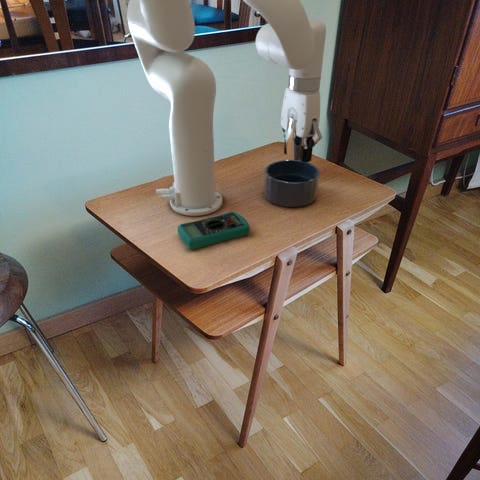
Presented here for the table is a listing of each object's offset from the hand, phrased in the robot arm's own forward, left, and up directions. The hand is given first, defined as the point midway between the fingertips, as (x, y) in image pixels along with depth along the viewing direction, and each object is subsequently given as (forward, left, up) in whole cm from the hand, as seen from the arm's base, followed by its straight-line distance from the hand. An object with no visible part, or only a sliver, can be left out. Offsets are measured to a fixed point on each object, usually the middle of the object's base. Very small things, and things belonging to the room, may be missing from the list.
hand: (297, 156), depth 118 cm
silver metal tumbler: (0, 0, -5) cm, 5 cm away
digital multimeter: (-27, -27, -5) cm, 38 cm away
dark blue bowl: (-5, -12, -5) cm, 14 cm away
